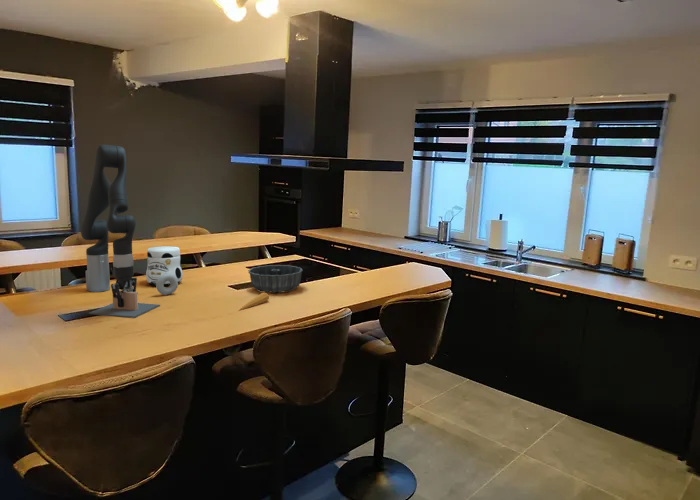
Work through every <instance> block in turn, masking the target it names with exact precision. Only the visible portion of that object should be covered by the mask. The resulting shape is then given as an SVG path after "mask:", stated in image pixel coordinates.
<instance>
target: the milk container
mask: <svg viewBox="0 0 700 500" xmlns="http://www.w3.org/2000/svg"><path fill="white" fill-rule="evenodd" d="M146 251H147V253H146V256H147V257H146V260H147V267H146V271H145V272H146V273H145V278H146V282H147V283H148V284H149V285H153V286H156V282H157V280H158V278H159V277H160V276H162V275H163V274H172V275H174V276H175V277H176V279H177V281H178V284H179V283H180V282H182V281H183V276H184V275H183V270H182V269H183V268H182V265H181V250H180V247H178V246H171V245H170V246H168V245H166V246H164V245H163V246H151V247H149V248H147V250H146ZM164 286H170V282H169V281H166V282H165V283H164Z"/></svg>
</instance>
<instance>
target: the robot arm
mask: <svg viewBox="0 0 700 500" xmlns="http://www.w3.org/2000/svg"><path fill="white" fill-rule="evenodd" d="M126 153H127V152H126V149H125V148H124V147H123V146H120V145H111V144H99V145H98V146H97V147H96V152H95V158H94V167H93V175H92V180H91V184H90V189H89V192H88V197H87V204H86V209H85V213H84V216H83V219H82V222H81V225H80V226H81V227H80V234H81V237H82V239H83V240H86V241H95V240H96V241H97V240H98V241H97V242H96V243H95V244H93V245H91V246H88V247H87V248H86V250H85V253H86V254H85V255H86V256H85V257H86V269H87V270H85V285H86V286H85V287H86V291H89V292H91V293H100V292H106V291H109V290H111V292H112V298H113V297H114V298H117V299H118V307H124V298H123V297H124V293H125V292H137V282H138V278H137V277H134V275H135V269H134V268H135V267H134V266H135V265H134V264H135V263H134V255H133V239H134V238H133V237H134V234H135V230H136V226H137V222H136V221H137V220H136V219H135V217H134V216H133V215H131V214H129V215H127V214H124V215H119V214H122V213H126V212H127V211H128V210H129V199H128V194H127V154H126ZM105 168H111V169H117V175H116V177H115V179H114V180H113V181H112V183H111V182H110V181H109V179H108V177H107V176H106V173H105V170H104V169H105ZM108 208H109V210H108V211H109V212H108V217H107V220H106V219H97V218H98V217H99V216H100V215H101V214H103V213H104V212H105V211H106V210H107V209H108ZM109 233H111V234H125V235H124V236H123V237H120V238H116V239H114V240H113V241H112V251H113V253H112V254H113V256H112V266H113V277H114V278H115V279H116V280H115V283H111V280H110V279H111V278H110V276H111V275H110V264H109V263H110V259H109ZM116 293H117V295H116ZM120 293H121V295H120Z"/></svg>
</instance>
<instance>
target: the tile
mask: <svg viewBox="0 0 700 500" xmlns="http://www.w3.org/2000/svg"><path fill="white" fill-rule="evenodd" d="M116 295H117V293H116ZM120 295H121V293H120ZM123 298H124V307H118V299H117V298H114V297H113V296H112V303H113V308H115V309H127V310H137V309H138V303H139V302H138V301H139V298H138V292H137V291H136V292H125V293H124V297H123Z"/></svg>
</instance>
